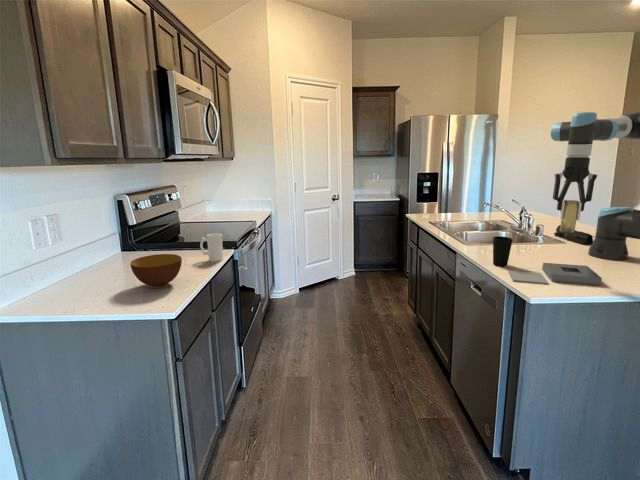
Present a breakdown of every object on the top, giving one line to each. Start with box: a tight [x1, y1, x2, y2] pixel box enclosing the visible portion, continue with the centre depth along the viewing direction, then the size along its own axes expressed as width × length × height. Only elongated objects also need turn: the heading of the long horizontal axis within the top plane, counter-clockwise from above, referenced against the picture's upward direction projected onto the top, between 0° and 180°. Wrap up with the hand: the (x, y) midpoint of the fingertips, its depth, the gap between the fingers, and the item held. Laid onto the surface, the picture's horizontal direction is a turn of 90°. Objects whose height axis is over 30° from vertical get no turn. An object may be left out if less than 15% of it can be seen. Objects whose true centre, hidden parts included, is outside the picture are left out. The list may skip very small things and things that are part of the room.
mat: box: [508, 270, 549, 285], centre depth 152 cm, size 12×12×1 cm
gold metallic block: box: [559, 199, 580, 233], centre depth 147 cm, size 5×5×12 cm
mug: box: [199, 232, 224, 263], centre depth 178 cm, size 10×7×12 cm, turn 98°
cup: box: [492, 235, 514, 268], centre depth 168 cm, size 8×8×12 cm
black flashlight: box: [553, 224, 595, 246], centre depth 212 cm, size 7×25×8 cm, turn 10°
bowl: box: [129, 253, 183, 289], centre depth 145 cm, size 18×18×10 cm
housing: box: [541, 262, 603, 286], centre depth 152 cm, size 16×16×3 cm
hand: (568, 219), depth 147 cm, fingers closed on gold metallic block, 5 cm apart
